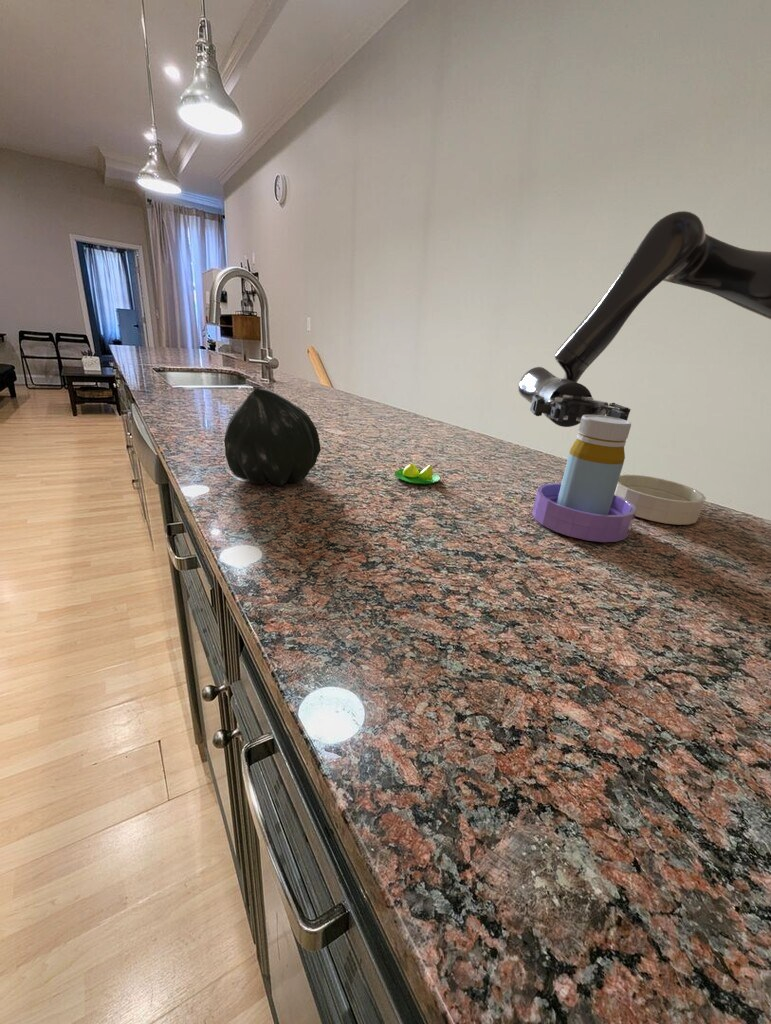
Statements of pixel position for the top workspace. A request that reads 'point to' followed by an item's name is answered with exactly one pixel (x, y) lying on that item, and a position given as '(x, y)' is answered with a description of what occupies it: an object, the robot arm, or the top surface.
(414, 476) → the plate of pears
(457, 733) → the top surface
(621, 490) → the cream bowl
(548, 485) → the lavender bowl
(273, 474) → the squash
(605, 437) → the bottle
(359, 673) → the top surface
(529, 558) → the top surface
